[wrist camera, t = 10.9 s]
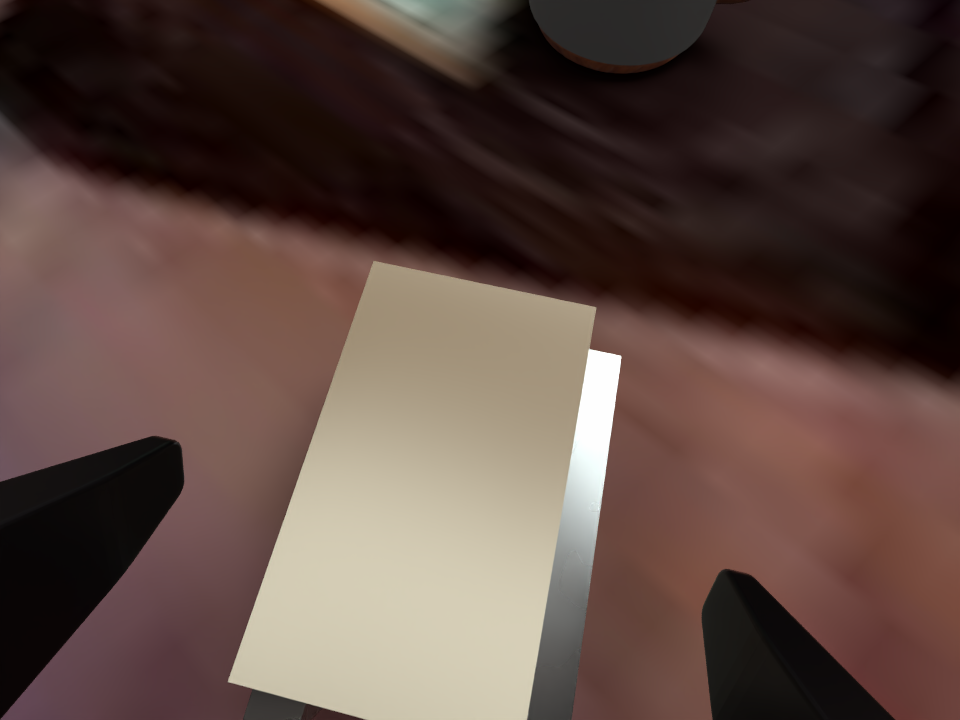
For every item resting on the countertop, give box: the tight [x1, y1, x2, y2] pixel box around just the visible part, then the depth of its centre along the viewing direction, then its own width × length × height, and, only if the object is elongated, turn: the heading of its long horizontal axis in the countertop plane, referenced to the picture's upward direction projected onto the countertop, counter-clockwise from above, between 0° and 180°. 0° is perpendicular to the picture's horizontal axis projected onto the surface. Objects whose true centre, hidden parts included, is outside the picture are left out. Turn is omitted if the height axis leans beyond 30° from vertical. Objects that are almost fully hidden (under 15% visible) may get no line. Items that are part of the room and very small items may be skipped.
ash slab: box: [228, 261, 596, 720], centre depth 11 cm, size 5×3×11 cm, turn 167°
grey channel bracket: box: [243, 349, 621, 720], centre depth 15 cm, size 10×8×5 cm
